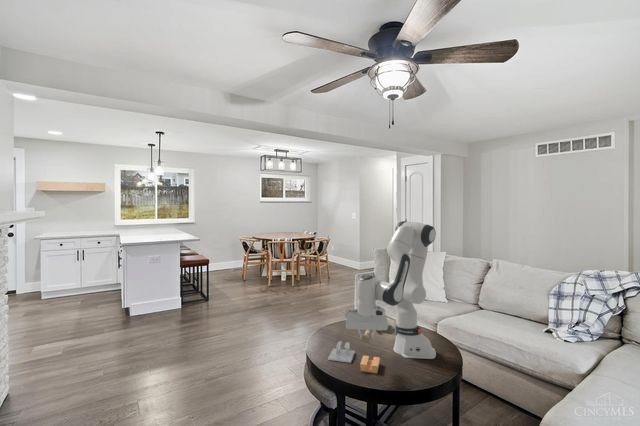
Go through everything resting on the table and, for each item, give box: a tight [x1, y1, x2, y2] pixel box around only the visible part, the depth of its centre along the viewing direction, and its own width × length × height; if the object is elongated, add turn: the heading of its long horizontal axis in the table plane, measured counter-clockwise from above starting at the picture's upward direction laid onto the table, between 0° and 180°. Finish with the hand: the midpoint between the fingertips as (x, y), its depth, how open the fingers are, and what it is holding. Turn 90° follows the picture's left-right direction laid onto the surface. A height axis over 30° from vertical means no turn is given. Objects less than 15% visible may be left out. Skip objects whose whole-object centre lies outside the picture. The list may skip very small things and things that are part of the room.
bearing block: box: [327, 340, 356, 364], centre depth 172 cm, size 12×12×6 cm
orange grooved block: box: [359, 354, 381, 374], centre depth 160 cm, size 8×10×4 cm
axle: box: [361, 330, 373, 344], centre depth 160 cm, size 14×3×3 cm, turn 162°
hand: (366, 338), depth 156 cm, fingers closed on axle, 3 cm apart
